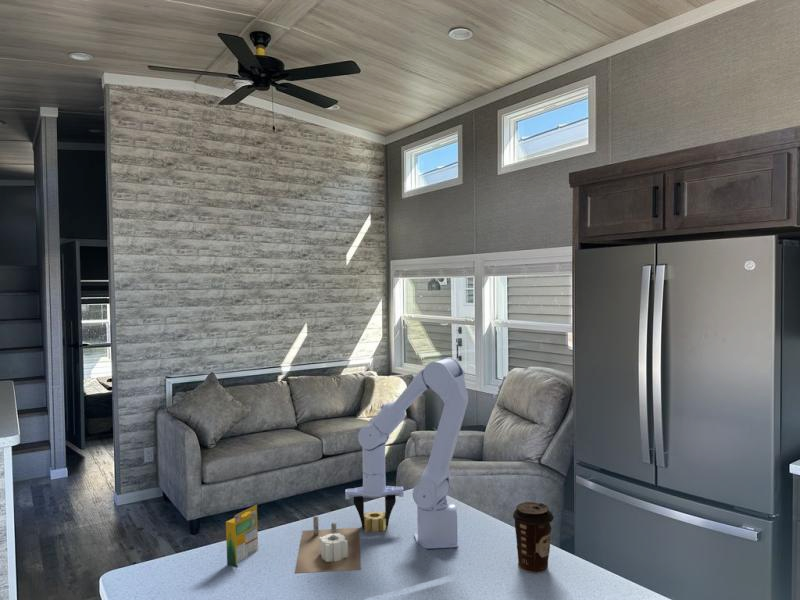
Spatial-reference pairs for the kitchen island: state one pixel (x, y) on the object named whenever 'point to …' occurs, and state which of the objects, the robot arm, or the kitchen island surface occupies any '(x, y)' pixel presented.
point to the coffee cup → (533, 536)
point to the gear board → (312, 559)
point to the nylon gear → (333, 547)
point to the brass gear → (374, 521)
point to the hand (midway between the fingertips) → (374, 525)
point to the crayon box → (242, 536)
